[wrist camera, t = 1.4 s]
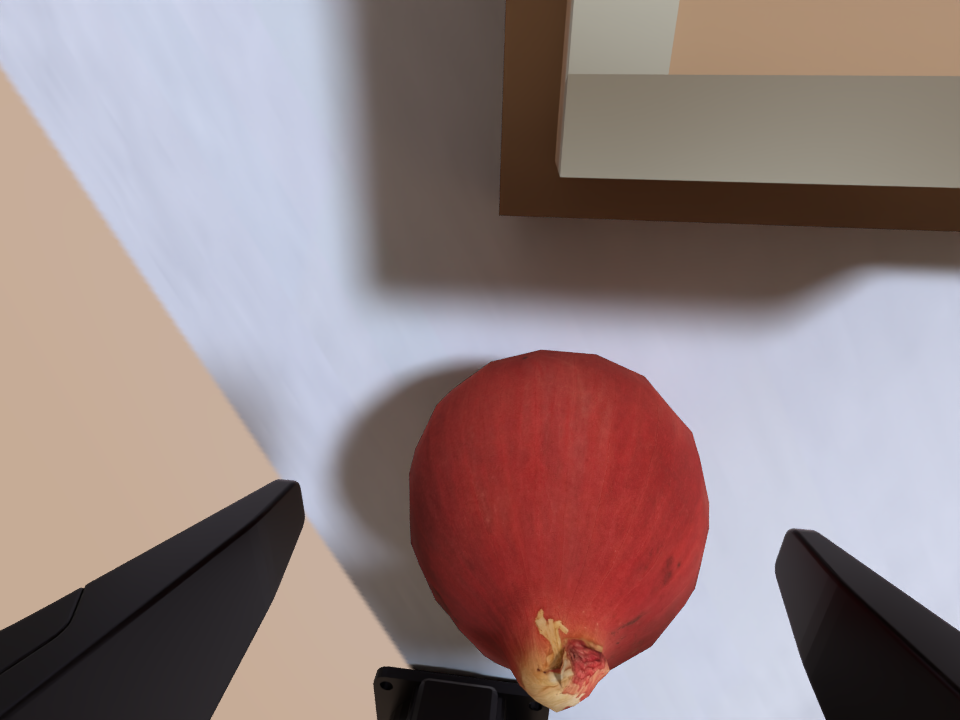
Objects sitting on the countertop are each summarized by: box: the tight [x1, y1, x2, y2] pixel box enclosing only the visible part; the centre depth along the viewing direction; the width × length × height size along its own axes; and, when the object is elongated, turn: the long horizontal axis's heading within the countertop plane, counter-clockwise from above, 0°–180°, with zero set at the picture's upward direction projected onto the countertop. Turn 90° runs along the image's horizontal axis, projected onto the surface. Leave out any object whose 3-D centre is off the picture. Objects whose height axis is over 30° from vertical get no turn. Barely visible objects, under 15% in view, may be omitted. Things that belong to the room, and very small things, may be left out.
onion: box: [409, 350, 709, 712], centre depth 10 cm, size 6×6×8 cm
